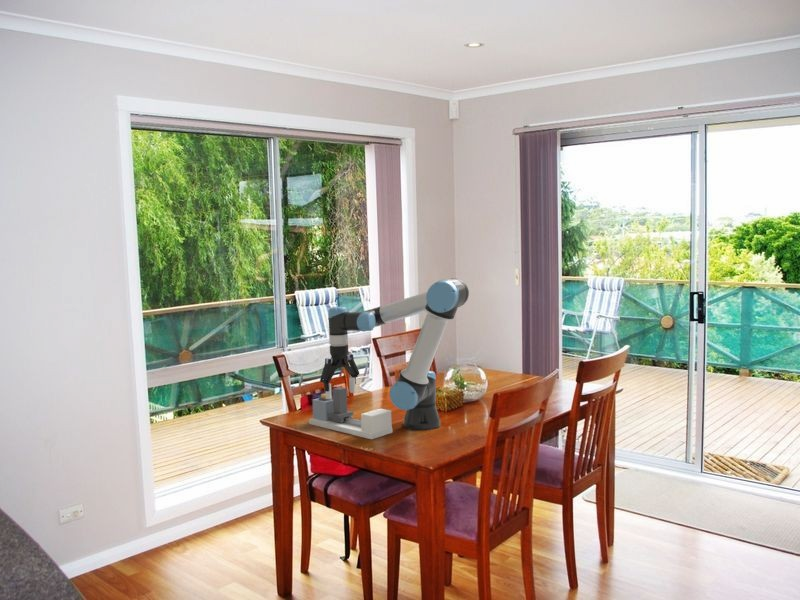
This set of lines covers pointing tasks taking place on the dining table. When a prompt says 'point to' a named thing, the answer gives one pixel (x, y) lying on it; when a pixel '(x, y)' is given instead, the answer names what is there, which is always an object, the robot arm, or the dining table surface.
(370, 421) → the rail track
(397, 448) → the dining table surface
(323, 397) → the button
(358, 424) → the rail bar
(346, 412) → the carriage
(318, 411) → the gauge cabinet
